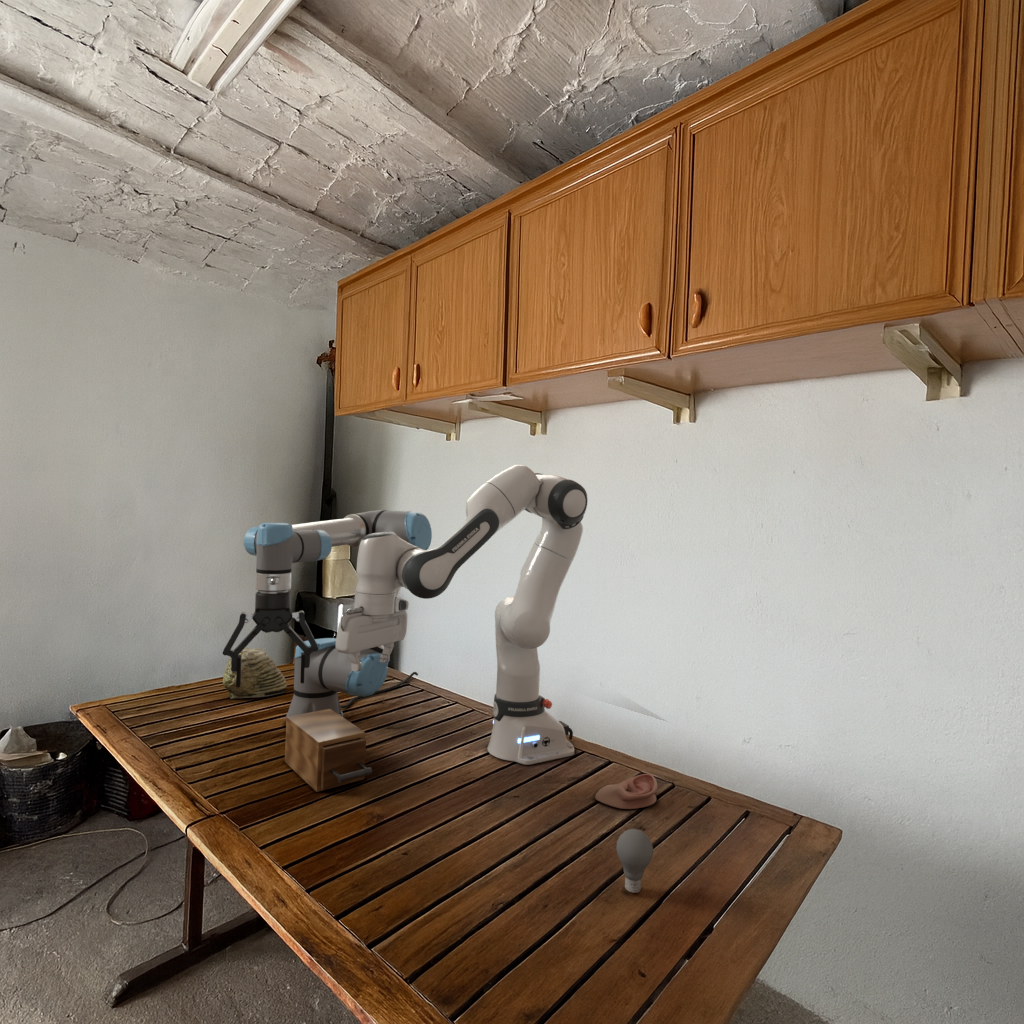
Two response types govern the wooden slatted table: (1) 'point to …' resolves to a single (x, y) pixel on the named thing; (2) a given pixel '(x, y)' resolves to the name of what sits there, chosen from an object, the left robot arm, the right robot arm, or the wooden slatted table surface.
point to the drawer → (343, 763)
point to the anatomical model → (630, 793)
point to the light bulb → (634, 857)
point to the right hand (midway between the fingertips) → (370, 666)
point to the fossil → (254, 676)
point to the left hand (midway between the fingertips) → (270, 683)
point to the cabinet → (315, 741)
